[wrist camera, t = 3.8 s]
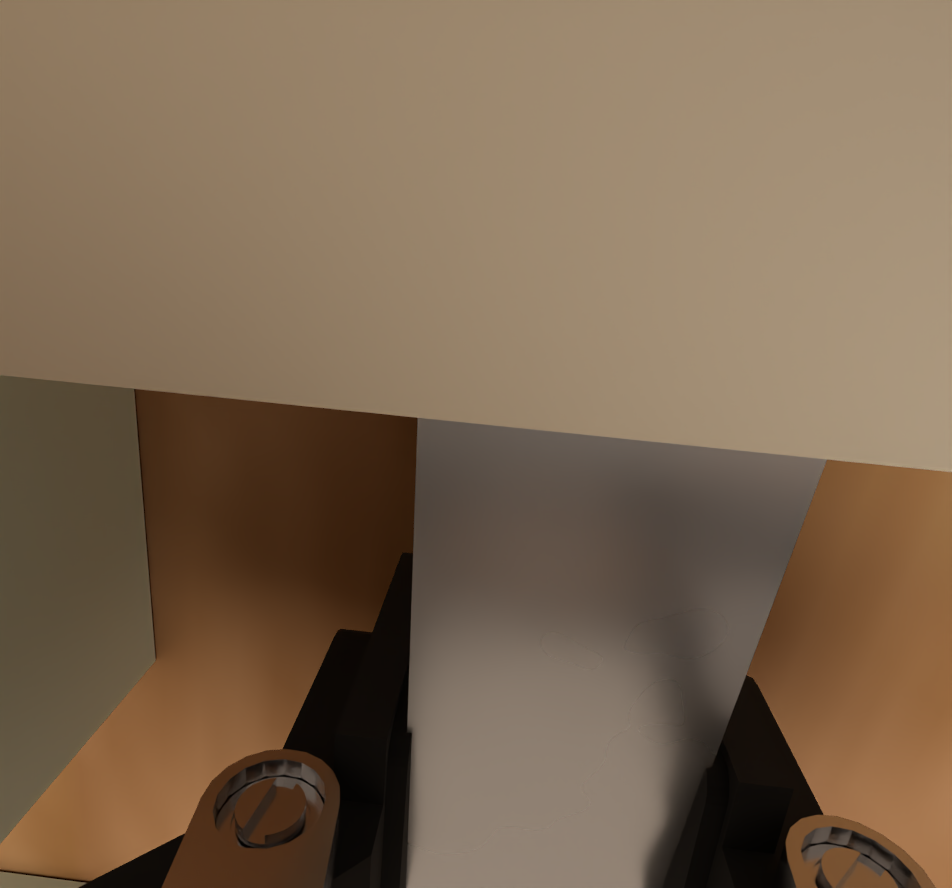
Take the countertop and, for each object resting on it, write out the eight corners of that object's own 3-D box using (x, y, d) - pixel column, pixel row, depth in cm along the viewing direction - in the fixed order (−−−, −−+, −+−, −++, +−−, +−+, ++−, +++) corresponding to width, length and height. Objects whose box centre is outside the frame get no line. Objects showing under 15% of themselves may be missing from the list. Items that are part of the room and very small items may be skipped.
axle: (512, -537, 5) (479, -1348, 2) (944, -517, 5) (1503, -1344, 2) (426, 826, 12) (397, 1029, 10) (589, 847, 12) (603, 1056, 10)
